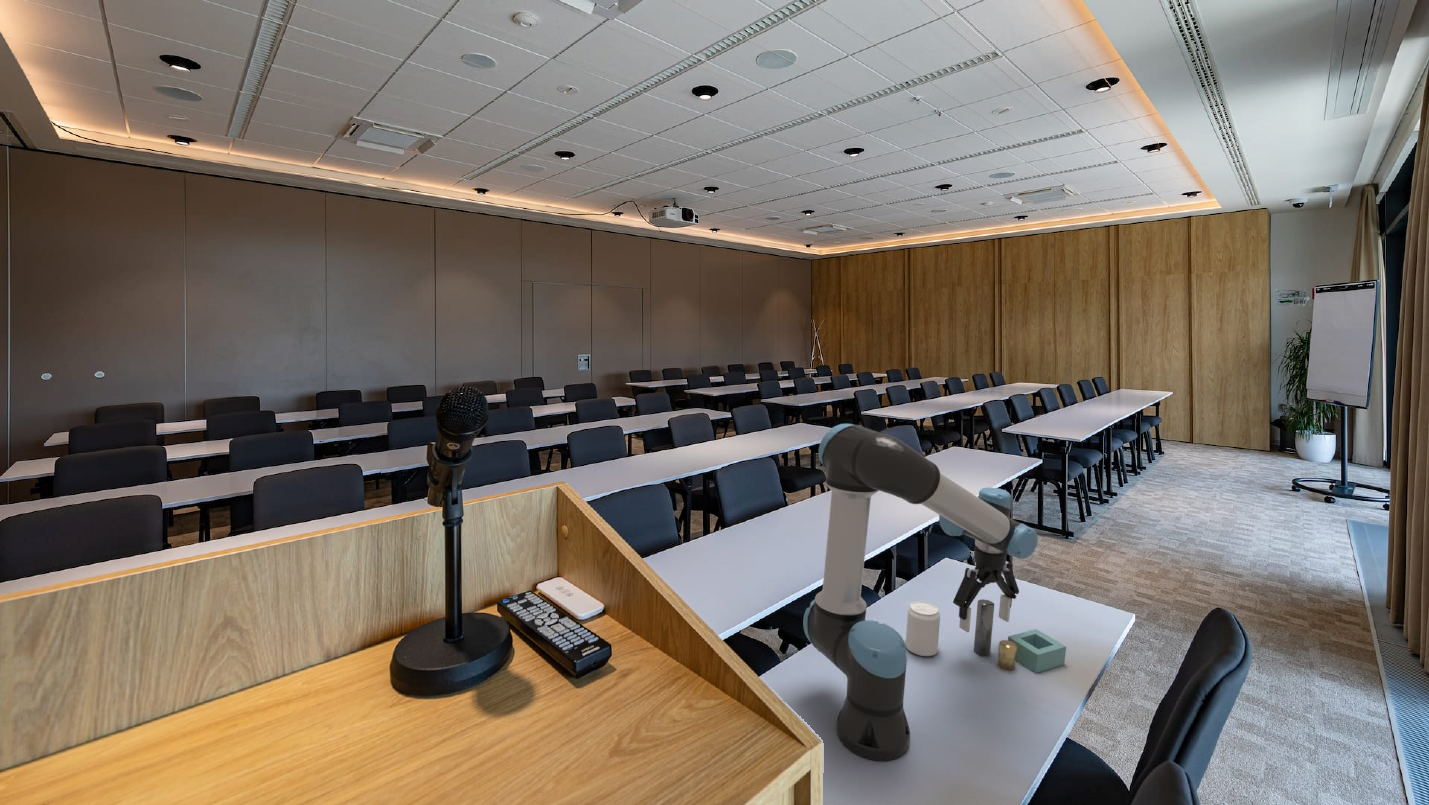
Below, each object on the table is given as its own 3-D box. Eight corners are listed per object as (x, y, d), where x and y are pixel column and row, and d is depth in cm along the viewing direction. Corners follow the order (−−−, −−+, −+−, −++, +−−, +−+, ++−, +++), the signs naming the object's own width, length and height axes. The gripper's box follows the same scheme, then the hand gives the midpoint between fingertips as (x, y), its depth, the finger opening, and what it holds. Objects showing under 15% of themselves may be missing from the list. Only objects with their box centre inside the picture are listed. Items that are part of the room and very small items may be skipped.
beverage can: (939, 660, 157) (942, 617, 155) (907, 656, 159) (909, 613, 157) (935, 643, 165) (937, 601, 163) (904, 639, 167) (906, 598, 165)
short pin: (1006, 672, 152) (1008, 650, 151) (993, 663, 156) (995, 642, 155) (1018, 668, 154) (1020, 647, 153) (1005, 660, 157) (1007, 639, 156)
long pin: (981, 658, 158) (986, 608, 156) (970, 649, 162) (974, 601, 160) (993, 654, 160) (997, 605, 157) (981, 646, 163) (985, 598, 161)
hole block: (1035, 673, 152) (1037, 654, 151) (1006, 653, 160) (1008, 636, 159) (1064, 664, 156) (1066, 646, 155) (1034, 646, 164) (1035, 628, 163)
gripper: (964, 561, 148) (958, 641, 151) (1038, 546, 157) (1031, 622, 161) (942, 550, 155) (936, 626, 158) (1014, 535, 164) (1008, 608, 168)
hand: (984, 624), depth 160 cm, fingers open, 13 cm apart
